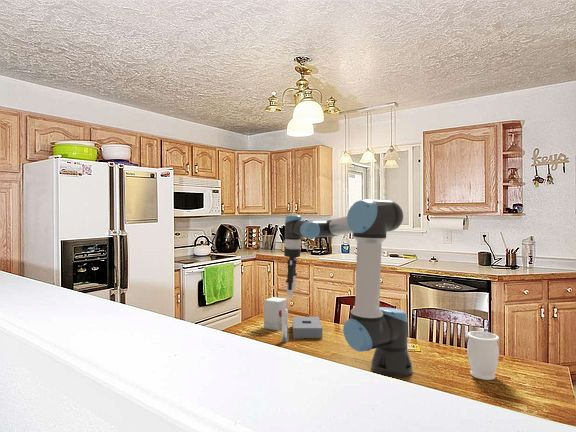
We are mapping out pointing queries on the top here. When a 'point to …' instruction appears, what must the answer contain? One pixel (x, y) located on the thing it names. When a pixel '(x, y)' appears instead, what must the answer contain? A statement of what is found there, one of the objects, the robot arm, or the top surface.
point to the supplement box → (274, 312)
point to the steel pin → (284, 325)
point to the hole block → (306, 327)
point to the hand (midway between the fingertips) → (291, 292)
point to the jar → (483, 354)
